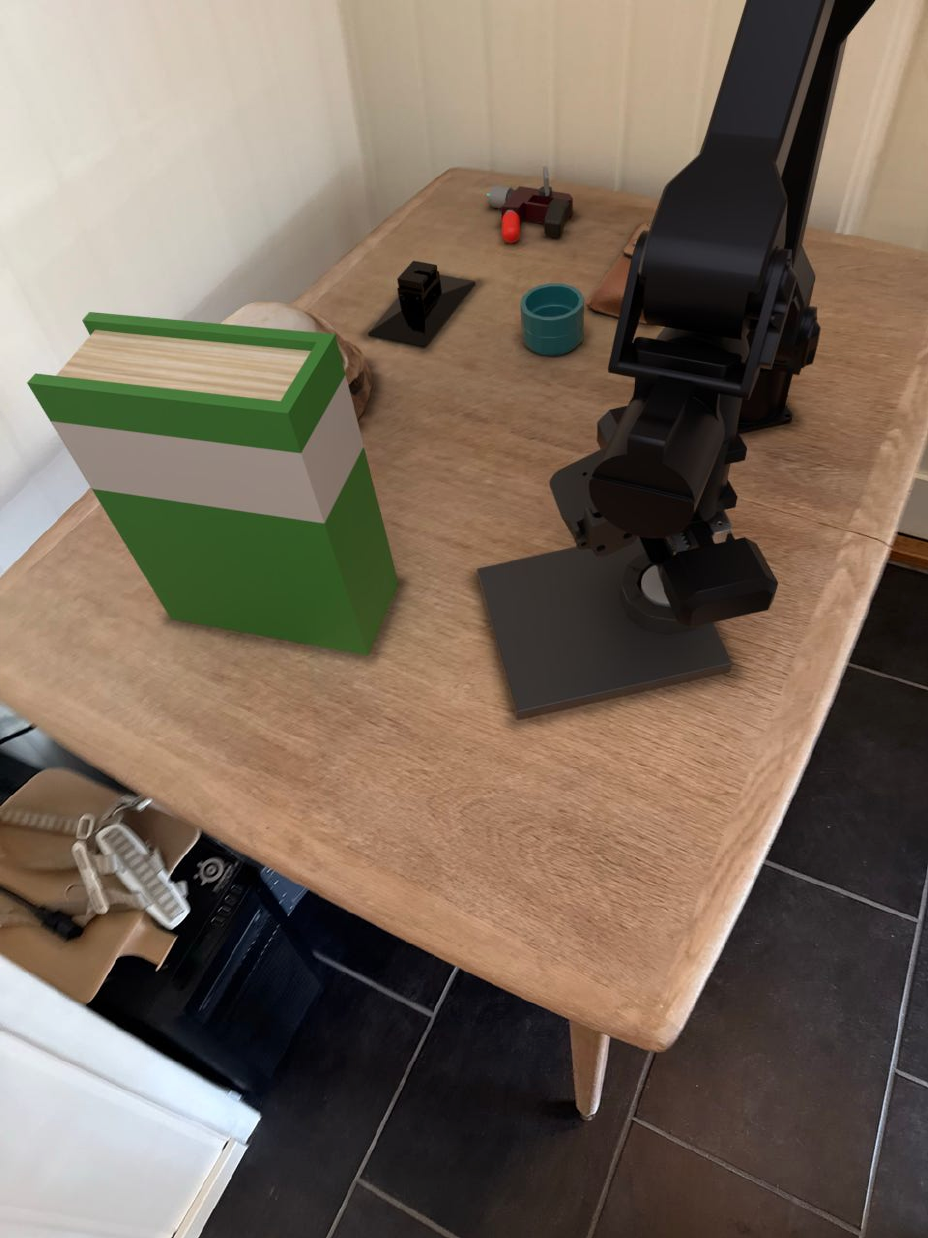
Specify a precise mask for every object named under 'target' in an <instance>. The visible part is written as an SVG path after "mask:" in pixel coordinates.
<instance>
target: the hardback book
mask: <svg viewBox="0 0 928 1238" xmlns="http://www.w3.org/2000/svg"><path fill="white" fill-rule="evenodd" d="M81 321H82V323H83V325H84V327H85V329H86V331H87V332H88V334H89V336H88V338H87V339H86V340H84V342H83V343H82V344H81V346H80V347H79V348H78V349H77V350H76V352H75V353H74V354H73V355H72V356H71V357H70V359H69V360H67V362H66V363H65V364H64V365H63V367H62V368H61V369H60V370H59V371H58V372H57V374H56V375H53V374H44V373H34V374H33V375H32V376H31V378H29V380H28V381H27V382H26V384H27V386H28V387H29V389H30V390H31V392H32V394H33V395H34V397H35V399H36V400H37V402H38V403H39V405H40V407H41V409H42V410H43V412H44V414H45V415H46V417H47V418H48V420H49V422H50V423H51V425H52V427H53V428H54V430H55V431H56V433H57V435H58V436H59V438H60V440H61V441H62V443H63V445H64V446H65V448H66V449H67V451H68V452H69V454H70V456H71V458H72V460H73V461H74V462H75V464H76V466H77V468H78V469H79V471H80V473H81V474H82V476H83V477H84V479H85V481H86V482H87V484H88V486H89V487H90V489H91V490H92V492H93V494H94V495H95V497H96V498H97V500H98V502H99V504H100V505H101V506H102V509H103V510H104V512H105V513H106V515H107V516H108V518H109V520H110V521H111V523H112V525H113V526H114V528H115V530H116V531H117V533H118V535H119V536H120V538H121V540H122V541H123V543H124V545H125V546H126V548H127V549H128V551H129V553H130V554H131V556H132V557H133V559H134V561H135V563H136V564H137V566H138V567H139V570H140V571H141V572H142V574H143V576H144V577H145V579H146V581H147V582H148V584H149V585H150V588H151V589H152V591H153V592H154V594H155V595H156V597H157V599H158V600H159V602H160V604H161V605H162V607H163V608H164V611H166V614H167V615H168V617H169V619H171V620H174V621H180V622H186V623H192V624H195V625H196V624H198V625H201V626H207V627H213V628H219V629H224V630H229V631H234V632H238V633H245V634H250V635H255V636H260V637H266V638H272V639H276V640H282V641H288V642H292V643H297V644H304V645H310V646H314V647H320V648H324V649H331V650H335V651H336V650H337V651H341V652H347V653H351V654H352V653H353V654H357V655H362V656H369V655H370V653H371V650H372V648H373V646H374V643H375V641H376V638H377V636H378V633H379V631H380V629H381V627H382V624H383V623H384V619H385V617H386V615H387V612H388V609H389V607H390V605H391V603H392V600H393V598H394V596H395V593H396V591H397V589H398V586H399V584H400V583H399V579H398V576H397V571H396V568H395V567H396V566H395V563H394V560H393V555H392V552H391V548H390V544H389V540H388V536H387V532H386V529H385V525H384V521H383V520H384V519H383V517H382V513H381V509H380V503H379V501H378V500H379V499H378V497H377V493H376V489H375V485H374V481H373V477H372V473H371V469H370V465H369V461H368V457H367V454H366V453H367V452H366V449H365V446H364V441H363V437H362V434H361V430H360V426H359V421H358V420H357V418H356V414H355V410H354V406H353V402H352V398H351V394H350V390H349V386H348V382H347V378H346V374H345V370H344V367H343V363H342V359H341V355H340V351H339V347H338V343H337V339H336V335H335V334H327V333H316V332H305V331H294V330H283V329H272V328H261V327H250V326H239V325H228V324H220V323H215V322H214V323H213V322H206V321H193V320H183V319H174V318H173V319H171V318H162V317H161V318H160V317H151V316H150V317H149V316H138V315H129V314H119V313H118V314H117V313H107V312H106V313H105V312H96V311H95V312H94V311H89V312H88V313H87V314H86V315H85V316H84V317H83V318H82V320H81Z"/></svg>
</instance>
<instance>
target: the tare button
mask: <svg viewBox="0 0 928 1238" xmlns="http://www.w3.org/2000/svg"><path fill="white" fill-rule="evenodd" d="M641 594H642V596H644V597H645V598H646V599H648V600H649V601H651V602H652V603H653V604H656V605H661V606H666V607H671V606H670V604H669V602H668V599H667V597H666V595H665V593H664V588H663V584H662V582H661V580H660V577H659V573H658V569H657V566H652V567H651V568H649V569H648V570H647V571H646V572H645V573H644V575H643V577H642V581H641Z"/></svg>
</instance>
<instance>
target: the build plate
mask: <svg viewBox="0 0 928 1238" xmlns="http://www.w3.org/2000/svg"><path fill="white" fill-rule="evenodd" d="M396 280H397V286H398V287H397V295H398V296H397V297H398V298H397V299H396V300H395V301H394V302H393V303H392V304H391V305H390V307H389V308H388V309H387V310H386V311H385V312H384V314H383V315H382V316H381V317H380V318H379V319H378V321H377V322H376V323H375V324H374V325H373V326H372V327H371V328H370V329H369V331H368V332H367V336H368V338H372V339H376V340H382V341H387V342H391V343H395V344H399V345H405V346H409V347H413V348H417V349H426V348H427V347H428V346H429V344H430V343H431V342H432V341H433V340H434V338H435V337H436V336H437V335H438V334H439V332H440V331H441V329H442V328H443V327H444V325H445V324H446V323H447V322H448V320H450V318H451V317H452V316H453V314H454V313H455V312H456V310H457V309H458V308H459V306H460V305H461V304H462V303H463V301H464V300H465V299H466V298H467V296H468V295H469V294H470V293H471V292H472V290H473V289H474V288H475V286H476V283H477V282H476V281H475V280H470V279H466V278H460V277H454V276H450V275H444V274H440V271H439V270H438V265H437V264H434V263H430V262H429V263H428V262H423V261H417V260H412V262H410V264H408V266H407V267H406V268H405V269H404V271H402V273H401V274H400V275H399V276H398V277H397V278H396Z"/></svg>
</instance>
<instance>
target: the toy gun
mask: <svg viewBox="0 0 928 1238" xmlns="http://www.w3.org/2000/svg"><path fill="white" fill-rule="evenodd" d="M542 175H543V176H542V177H543V178H542V179H543V186H540V188H533V187H527V186H521V185H520V186H518V187H517V188H516V189H514V188H513V187H511V186H507V185H499V184H494V185H493V186H492V188H491V189H490V193H487V194H486V196H488V197H489V205H490V207H491V208H494V209H500V211H501V236H502V239H503V240H504V242H507V243H511V244H513V243H515V242H517V241H518V240H519V238H520V235H521V224H522V222H523V221H524V220H525V221H526V222H533V223H540V224H543V228H544V229H543V230H544V235H545V236H547V237H552V238H557V239H558V238H560V237H561V236H562V233H563V229H564V226H565V223H566V222H567V220H568V219H569V218H572V216H574V209H573V208H574V206H573V205H574V203H573V202H574V199H573V195H571V194H570V193H566V192H560V191H555V190H554V191H553V187H551V186H550V175H549V170H548V166H543V167H542Z"/></svg>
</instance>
